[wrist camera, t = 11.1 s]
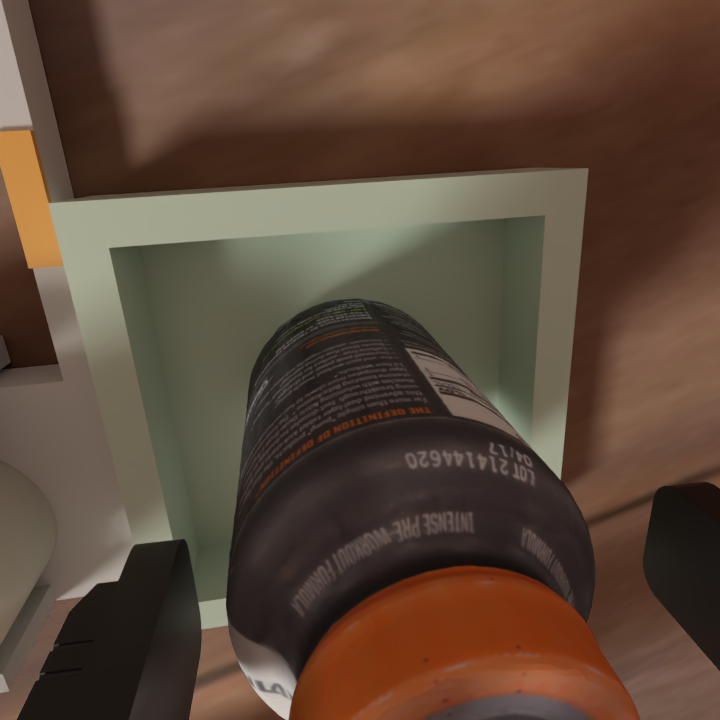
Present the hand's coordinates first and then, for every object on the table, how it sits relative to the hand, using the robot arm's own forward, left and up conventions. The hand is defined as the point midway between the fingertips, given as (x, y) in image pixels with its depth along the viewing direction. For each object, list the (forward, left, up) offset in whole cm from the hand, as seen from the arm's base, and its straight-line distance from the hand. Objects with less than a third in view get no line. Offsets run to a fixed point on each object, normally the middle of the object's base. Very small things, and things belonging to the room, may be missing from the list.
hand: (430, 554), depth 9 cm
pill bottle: (0, 0, -8) cm, 8 cm away
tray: (+1, 0, -8) cm, 8 cm away
